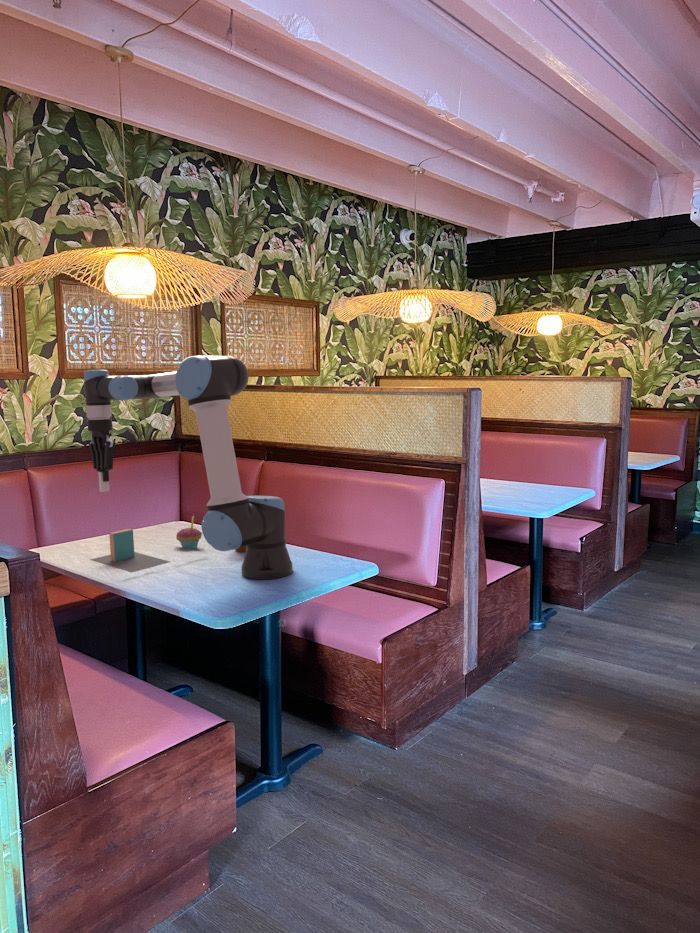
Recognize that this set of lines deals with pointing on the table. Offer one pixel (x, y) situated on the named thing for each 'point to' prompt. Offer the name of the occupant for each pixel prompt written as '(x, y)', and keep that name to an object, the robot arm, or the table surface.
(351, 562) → the table surface
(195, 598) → the table surface
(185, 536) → the cupcake
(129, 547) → the tile
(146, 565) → the mat
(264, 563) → the robot arm
